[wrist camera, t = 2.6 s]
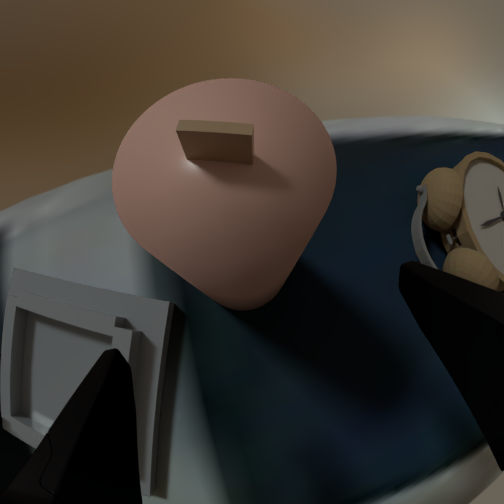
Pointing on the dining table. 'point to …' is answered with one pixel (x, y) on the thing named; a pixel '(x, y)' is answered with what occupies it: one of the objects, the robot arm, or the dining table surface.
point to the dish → (79, 355)
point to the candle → (226, 186)
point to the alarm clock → (465, 218)
